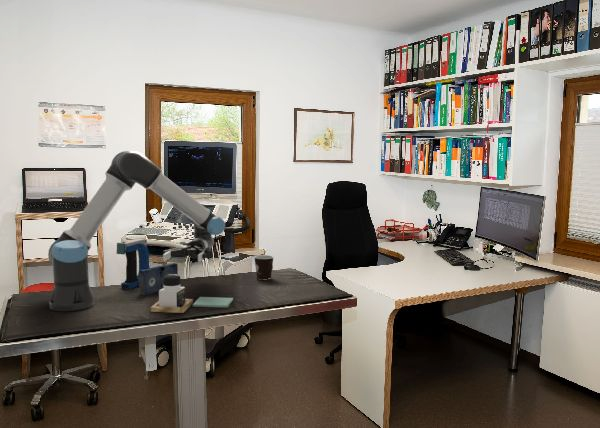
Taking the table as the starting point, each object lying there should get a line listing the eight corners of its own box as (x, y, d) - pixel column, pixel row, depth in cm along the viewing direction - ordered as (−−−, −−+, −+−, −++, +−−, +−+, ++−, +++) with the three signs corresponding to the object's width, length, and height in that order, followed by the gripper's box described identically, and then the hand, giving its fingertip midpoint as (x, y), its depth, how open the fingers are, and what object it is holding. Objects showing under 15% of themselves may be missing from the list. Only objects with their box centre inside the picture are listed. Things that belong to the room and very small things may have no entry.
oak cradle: (150, 311, 179) (150, 307, 179) (162, 302, 191) (162, 298, 191) (183, 312, 178) (183, 308, 178) (193, 303, 190) (192, 299, 190)
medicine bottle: (177, 311, 180) (176, 278, 179) (158, 309, 182) (158, 277, 181) (185, 305, 187) (185, 273, 186) (167, 304, 189) (167, 272, 188)
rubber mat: (192, 306, 186) (192, 304, 186) (200, 298, 196) (200, 296, 196) (227, 307, 185) (227, 305, 185) (233, 299, 195) (233, 297, 195)
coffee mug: (254, 276, 233) (254, 255, 232) (272, 276, 234) (272, 255, 233) (254, 282, 222) (254, 260, 221) (274, 282, 223) (274, 260, 222)
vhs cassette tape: (174, 285, 217) (173, 262, 216) (179, 286, 215) (178, 263, 214) (138, 294, 202) (138, 270, 201) (143, 295, 200) (142, 271, 199)
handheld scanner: (116, 289, 208) (115, 242, 206) (141, 281, 223) (141, 237, 220) (124, 291, 206) (124, 243, 204) (150, 282, 221) (149, 238, 219)
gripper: (226, 256, 213) (213, 268, 192) (168, 256, 215) (150, 267, 194) (225, 239, 212) (213, 248, 191) (168, 238, 214) (149, 248, 193)
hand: (181, 258), depth 193 cm, fingers open, 13 cm apart
